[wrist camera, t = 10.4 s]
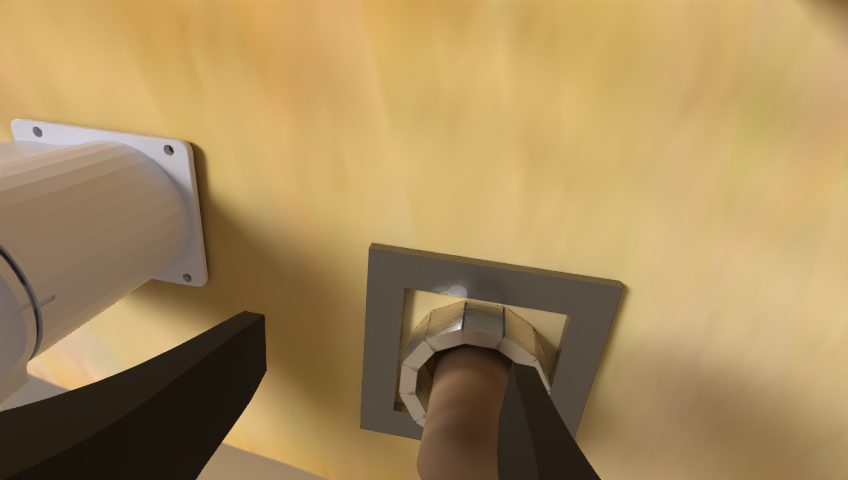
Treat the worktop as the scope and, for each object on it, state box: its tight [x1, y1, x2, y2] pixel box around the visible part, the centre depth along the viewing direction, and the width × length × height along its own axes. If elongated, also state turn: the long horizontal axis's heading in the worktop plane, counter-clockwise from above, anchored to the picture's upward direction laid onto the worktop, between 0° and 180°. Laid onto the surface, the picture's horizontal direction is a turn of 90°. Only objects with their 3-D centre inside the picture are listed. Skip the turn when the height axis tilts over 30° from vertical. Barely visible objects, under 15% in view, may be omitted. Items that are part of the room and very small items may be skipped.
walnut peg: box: [417, 344, 513, 480], centre depth 21 cm, size 4×4×7 cm
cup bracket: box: [360, 243, 623, 440], centre depth 23 cm, size 12×12×2 cm
